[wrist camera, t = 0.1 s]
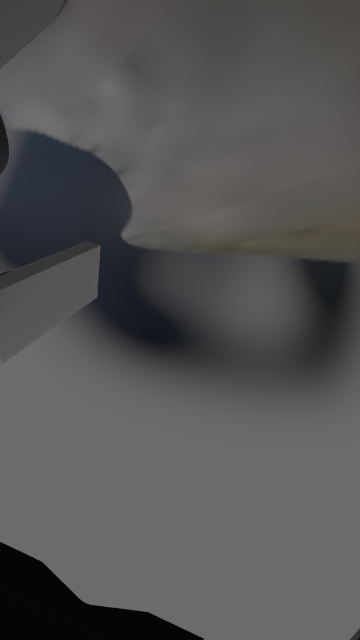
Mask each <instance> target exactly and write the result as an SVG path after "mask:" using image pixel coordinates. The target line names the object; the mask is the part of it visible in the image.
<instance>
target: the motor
mask: <svg viewBox="0 0 360 640" xmlns="http://www.w3.org/2000/svg"><path fill="white" fill-rule="evenodd" d="M8 157H9V146H8V139H7V135H6V130H5V127H4V124H3V121H2V118H1V116H0V174H1V173H2V172H3V171H4V169H5V168H6V165H7V163H8Z"/></svg>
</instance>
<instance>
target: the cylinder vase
mask: <svg viewBox="0 0 360 640" xmlns="http://www.w3.org/2000/svg"><path fill="white" fill-rule="evenodd" d="M63 3H64V0H0V69H1V68H2V67H3V66H4V65H5V64H6V63H7V62H8V61H10V60H11V59H12V58H13V57H14V56H15V55H16V54H17V53H18V52H19V51H21V50H22V49H23V48H24V47H25V46H26V45H27V44H28V43H29V42H31V41H32V40H33V39H34V38H35V37H36V36H37V35H38V34H39V33H40V32H42V31H43V30H44V29H45V28H46V27H47V26H48V25H49V24H50V23H51V22H52V21H53V20H54V19H55V17H56V16H57V14H58V13H59V11H60V9H61V7H62V5H63Z"/></svg>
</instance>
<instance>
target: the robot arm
mask: <svg viewBox="0 0 360 640" xmlns="http://www.w3.org/2000/svg"><path fill="white" fill-rule="evenodd" d="M99 259H100V245H97V244H93V243H90V242H84V243H81V244H79V245H76V246H74V247H71V248H68V249H66V250H63V251H61V252H58V253H56V254H53V255H51V256H48V257H46V258H44V259H41V260H38V261H36V262H33V263H30V264H28V265H25V266H23V267H20V268H18V269H15V270H13V271H8V272H4V273H2V274H0V365H1V364H3V363H4V362H5V361H7V360H8V359H10V358H11V357H13V356H14V355H16V354H17V353H18V352H20V351H21V350H22V349H24V348H25V347H27V346H28V345H30V344H31V343H33V342H34V341H35V340H37V339H38V338H40V337H41V336H43V335H44V334H45V333H47V332H48V331H50V330H51V329H52V328H54V327H55V326H57V325H58V324H60V323H61V322H62V321H64V320H65V319H67V318H68V317H69V316H71V315H72V314H74V313H75V312H77V311H78V310H79V309H81V308H82V307H84V306H85V305H87V304H88V303H90V302H91V301H92V300H94V299H95V298H97V288H98V272H99ZM0 640H204V639H203V638H201V637H199V636H197V635H195V634H193V633H191V632H188V631H187V630H184V629H182V628H180V627H178V626H176V625H174V624H172V623H170V622H168V621H165V620H163V619H161V618H159V617H157V616H155V615H153V614H151V613H149V612H143V611H135V610H127V609H119V608H110V607H104V606H95V605H89V604H86V603H84V602H83V601H81V600H80V599H79V598H78V597H77V596H76V595H75V594H74V593H73V592H72V591H71V590H70V589H69V588H68V587H67V586H66V585H65V584H64V583H63V582H62V581H61V580H60V579H59V578H58V577H57V576H56V575H55V574H54V573H53V572H52V571H51V570H50V569H49V568H48V567H47V566H46V565H45V564H44V563H43V562H41V561H39V560H37V559H35V558H33V557H31V556H29V555H27V554H25V553H22V552H20V551H18V550H16V549H14V548H12V547H10V546H8V545H6V544H4V543H1V542H0ZM350 640H360V629H359V630H358V631H357V632H356V633H355V634H354V636H353V637H352V638H351V639H350Z"/></svg>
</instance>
